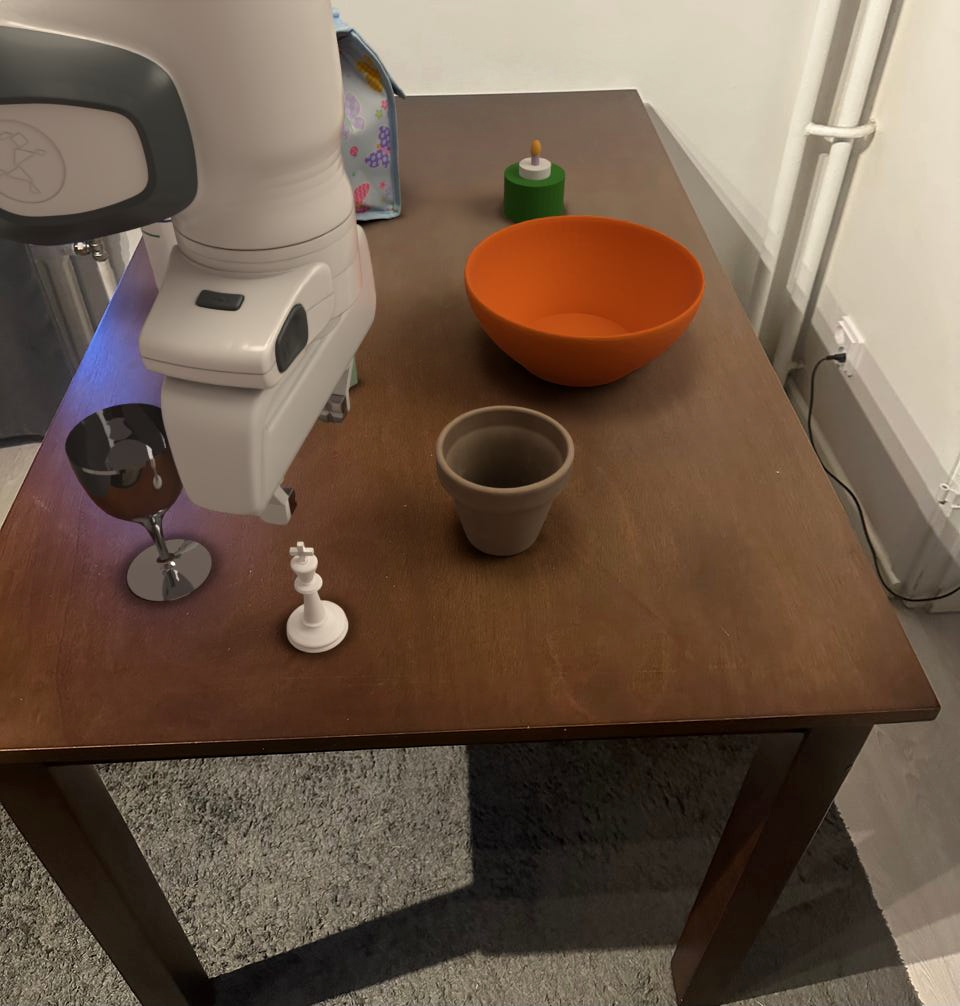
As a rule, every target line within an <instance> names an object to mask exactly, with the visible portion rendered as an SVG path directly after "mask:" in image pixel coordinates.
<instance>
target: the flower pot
mask: <svg viewBox="0 0 960 1006" xmlns="http://www.w3.org/2000/svg"><path fill="white" fill-rule="evenodd" d="M434 448H435V449H434V456H435V468H436V475H437V478H438V481H439V482H440V485H441V487H442V488H443V489H444V490H445V492H446V493H447V494H448V495H449V496H451V497H452V498H453V502H454V505H455V508H456V512H457V514H458V518H459V520H460V523H461V525H462V528H463V531H464V533H465V536H466V538H467V539H468V541H469V543H470V544H471V545H472V546H473V547H474V548H476V549H477V550H478V551H481V552H483V553H484V554H488V555H490V556H495V557H508V556H513V555H518V554H521V553H523V552H525V551H526V550H528V549H529V548H530V547H531V546H533V544H534V543H535V541H536V540H537V538H538V536H539V535H540V533H541V530H542V528H543V525H544V524H545V522H546V519H547V516H548V515H549V514H548V513H549V512H550V509H551V507H552V505H553V501H554V499H555V498H557V497H558V496H559V495H560V494H562V493H563V491H564V490H565V489H566V488H567V486H568V484H569V482H570V480H571V476H572V472H573V466H574V460H575V453H576V451H575V450H576V449H575V444H574V440H573V438H572V436H571V435H570V433H569V431H568V430H567V429H566V428H565V427H564V426H563V425H562V424H561V423H559V422H558V421H557V420H556V419H554V418H552V417H551V416H549V415H546V414H544V413H542V412H540V411H537V410H534V409H531V408H526V407H522V406H514V405H492V406H486V407H485V406H484V407H479V408H476V409H472V410H469V411H467V412H465V413H462V414H460V415H459V416H457V417H455V418H453V419H452V420H451V421H450V422H449V423H448V424H446V425H445V426H444V427H443V429H442V430H441V431H440V433H439V435H438V437H437V439H436V442H435V447H434Z"/></svg>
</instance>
